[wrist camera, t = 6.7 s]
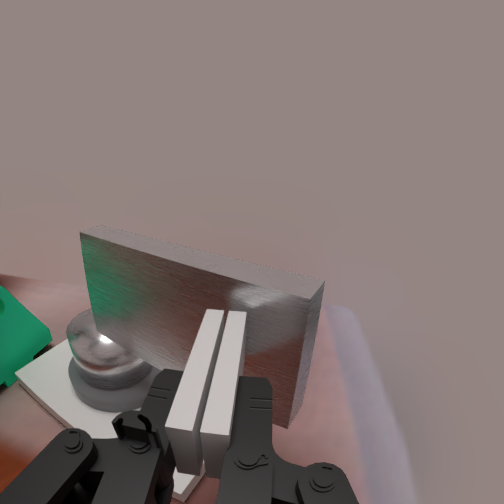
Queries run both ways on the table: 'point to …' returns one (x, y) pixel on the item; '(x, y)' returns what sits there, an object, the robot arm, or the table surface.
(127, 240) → the brushed metal plate
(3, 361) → the green mounting bracket
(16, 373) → the post base
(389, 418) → the table surface
